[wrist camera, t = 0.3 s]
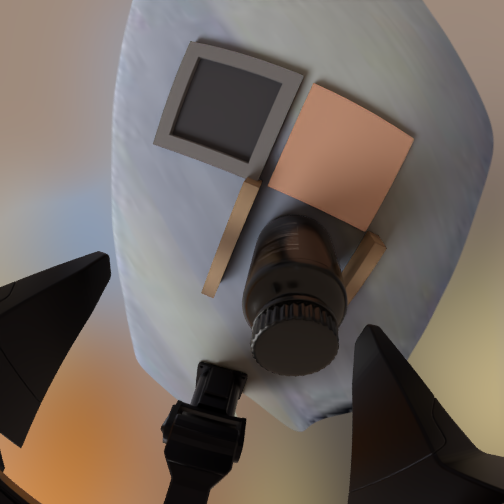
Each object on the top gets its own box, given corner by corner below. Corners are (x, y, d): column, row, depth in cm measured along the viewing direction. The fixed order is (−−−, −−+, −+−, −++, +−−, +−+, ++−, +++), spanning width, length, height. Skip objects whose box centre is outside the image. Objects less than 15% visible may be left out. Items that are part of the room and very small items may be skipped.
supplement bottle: (252, 275, 26) (225, 376, 16) (261, 206, 23) (233, 288, 12) (323, 286, 26) (334, 391, 15) (341, 220, 23) (376, 310, 12)
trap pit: (257, 181, 22) (256, 183, 21) (157, 143, 21) (153, 144, 21) (303, 77, 18) (304, 75, 17) (193, 43, 17) (190, 41, 16)
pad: (363, 228, 22) (365, 232, 22) (268, 183, 22) (267, 186, 21) (410, 138, 18) (414, 139, 18) (312, 84, 18) (313, 83, 17)
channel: (320, 323, 28) (321, 339, 25) (208, 278, 27) (201, 293, 25) (378, 236, 23) (386, 248, 20) (248, 175, 22) (243, 181, 20)
